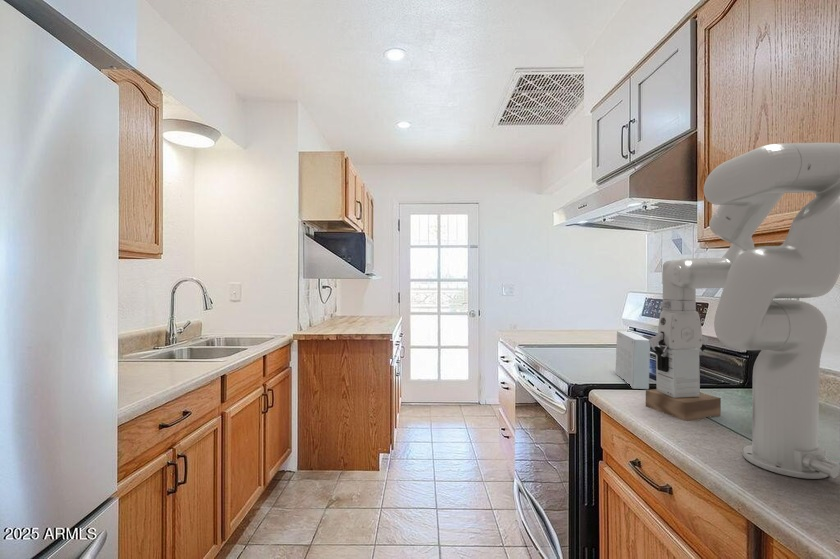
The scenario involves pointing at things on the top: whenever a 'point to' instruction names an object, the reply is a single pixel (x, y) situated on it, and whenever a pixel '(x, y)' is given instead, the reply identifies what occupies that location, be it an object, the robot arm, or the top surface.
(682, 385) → the supplement box
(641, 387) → the skincare box
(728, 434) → the top surface
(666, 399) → the walnut block
